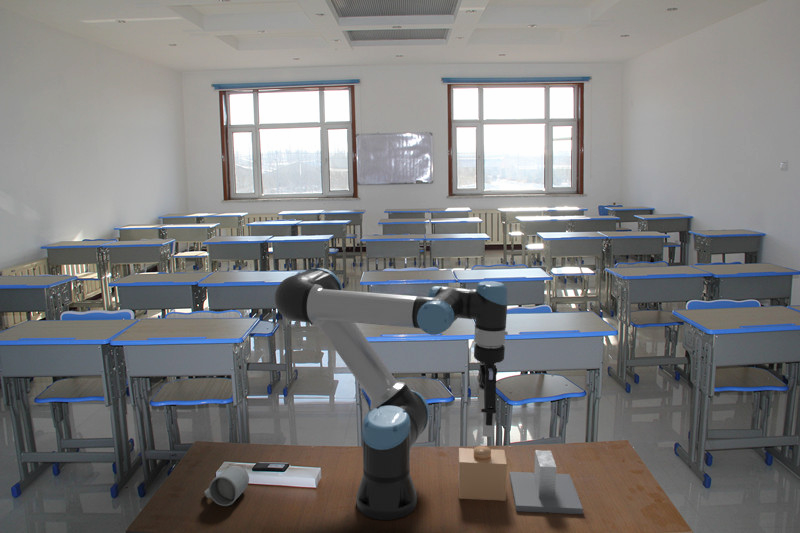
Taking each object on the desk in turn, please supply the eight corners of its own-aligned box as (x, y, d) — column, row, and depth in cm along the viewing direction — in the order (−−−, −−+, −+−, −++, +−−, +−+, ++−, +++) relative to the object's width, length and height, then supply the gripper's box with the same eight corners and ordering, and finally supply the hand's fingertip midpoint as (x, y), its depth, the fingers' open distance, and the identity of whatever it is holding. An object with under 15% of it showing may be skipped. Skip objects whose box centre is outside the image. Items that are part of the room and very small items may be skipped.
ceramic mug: (251, 490, 151) (250, 462, 150) (237, 507, 143) (235, 479, 142) (214, 486, 153) (212, 459, 152) (198, 503, 145) (195, 475, 144)
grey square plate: (516, 511, 141) (517, 473, 140) (509, 476, 157) (510, 442, 156) (582, 514, 140) (584, 476, 138) (569, 479, 156) (571, 444, 154)
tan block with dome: (458, 498, 147) (459, 456, 145) (458, 482, 154) (459, 442, 152) (505, 500, 146) (507, 458, 144) (503, 484, 153) (504, 444, 151)
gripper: (511, 361, 131) (505, 448, 135) (499, 330, 156) (495, 404, 159) (477, 359, 132) (473, 446, 135) (471, 329, 156) (468, 403, 160)
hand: (485, 423), depth 147 cm, fingers open, 13 cm apart
